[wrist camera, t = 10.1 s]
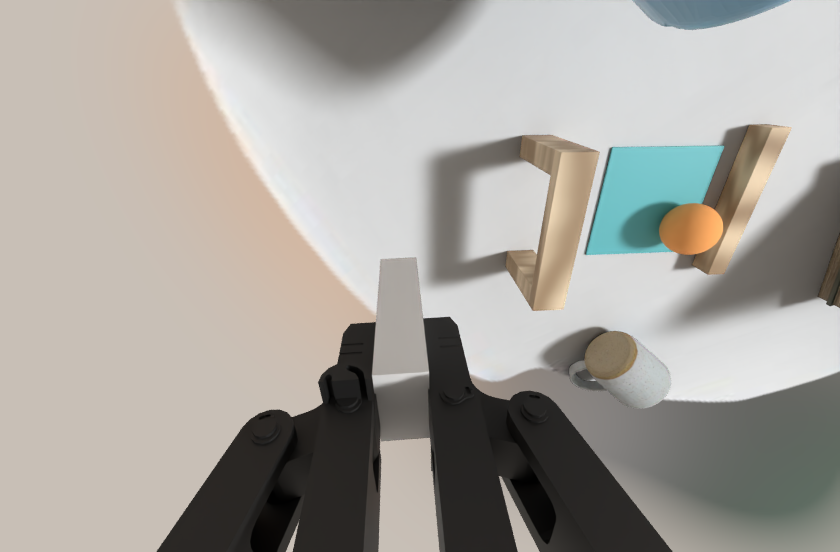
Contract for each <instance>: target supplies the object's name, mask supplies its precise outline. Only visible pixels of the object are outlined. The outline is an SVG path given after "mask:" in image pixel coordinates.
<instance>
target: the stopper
mask: <svg viewBox="0 0 840 552" xmlns="http://www.w3.org/2000/svg"><path fill="white" fill-rule="evenodd" d="M791 128H792V127H785V126H777V125H769V124H761V125H749V127H748V130H747V132H746V135H745V137H744V139H743V142H742V144H741V147H740V149H739V152H738V154H737V156H736V159H735V161H734V164H733V166H732V169H731V171H730V174H729V176H728V178H727V181H726V183H725V186H724V188H723V191H722V193H721V196H720V198H719V200H718V203H717V205H716V208H715V211H716V212H717V213H718V214H719V215H720V217H721V219H722V222H723V232H722V235H721V237H720V239H719V240H718V242H717V243H716V244H715V245H714V246H713V247H712V248H710V249H708V250H707V251H704V252H702V253H698V254H696V257H695V259H694V261H693V264H692V265H693V266H695V267H696V268H698V269H700V270H701V271H703V272H704V273H706V274H708V275H711V274H724V273H725V271H726V268H727V266H728V264H729V262H730V260H731V258H732V255H733V253H734V251H735V249H736V247H737V245H738V243H739V240H740V238H741V236H742V234H743V232H744V230H745V227H746V225H747V223H748V221H749V219H750V217H751V215H752V212H753V210H754V208H755V206H756V204H757V202H758V199H759V197H760V195H761V193H762V191H763V189H764V187H765V184H766V182H767V180H768V178H769V176H770V174H771V171H772V169H773V167H774V165H775V163H776V161H777V159H778V156H779V154H780V152H781V150H782V148H783V146H784V143H785V141H786V139H787V137H788V135H789V133H790V131H791Z"/></svg>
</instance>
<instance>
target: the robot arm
mask: <svg viewBox="0 0 840 552" xmlns="http://www.w3.org/2000/svg"><path fill="white" fill-rule="evenodd" d="M633 1H634V2H635V3H636V5H637V6H638V7H639V8H640V9H641V10H642V11H643V12H644V13H645V14H646V15H647V16H648V17H649V18H650V19H651V20H652V21H654V22H656V23H658V24H660V25H662V26H673V27H676V28H678V29H685V30H696V29H705V28H711V27H716V26H721V25H725V24H729V23H733V22H736V21H739V20H743V19H746V18H749V17H752V16H755V15H757V14H760V13H762V12H765V11H768V10H770V9H772V8H775V7H777V6H780V5H782V4H784V3H786V2H789V1H791V0H633ZM318 383H319V387H320V392H321V396H322V400H323V403H322V404H321V405H320V406H318V407H317V408H315V409H313V410H311V411H309V412H306V413H303V414H300V415H297V416H295V417H291V416H290V415H289V414H288V413H287V412H284V411H282V410H269V411H265V412H262V413H259V414H258V415H256V416H255V417H253V418H251V419H250V420H249V421H248V422H247V423H246V424H245V425H244V426H243V427H242V429H241V430H240V432H239V433H238V435H237V436H236V437H235V439H234V440H233V442H232V443H231V445H230V446H229V448H228V449H227V450H226V452H225V454H224V455H223V456H222V458H221V459H220V461H219V462H218V463H217V465H216V467H215V468H214V469H213V471H212V472H211V474H210V475H209V477H208V478H207V480H206V481H205V482H204V484H203V485H202V487H201V488H200V490H199V491H198V492H197V494H196V495H195V497H194V498H193V500H192V501H191V503H190V504H189V505H188V507H187V508H186V510H185V511H184V513H183V514H182V516H181V517H180V518H179V520H178V521H177V523H176V524H175V526H174V527H173V529H172V530H171V531H170V533H169V535H168V536H167V537H166V539H165V540H164V542H163V543H162V544H161V546H160V548H159V549H158V550H157V552H286V550H287V547H288V545H289V543H290V540H291V538H292V536H293V533H294V531H295V528H296V526H297V524H298V522H299V525H298V529H297V534H296V539H295V544H294V548H293V552H378V545H379V512H380V482H381V481H380V480H381V454H380V438H381V441H391V440H405V439H418V438H430V441H431V471H433V482H434V494H435V505H436V516H437V526H438V537H439V549H440V552H518V551H517V547H516V543H515V539H514V535H513V531H512V527H511V523H510V519H509V515H508V512H507V507H506V503H505V499H504V496H503V491H502V487H501V484H500V479H499V476H501V477H502V478H503V481H504V482H505V485H506V487H507V489H508V491H509V492H510V494H511V496H512V498H513V500H514V502H515V504H516V506H517V508H518V510H519V512H520V514H521V516H522V518H523V520H524V522H525V524H526V526H527V528H528V530H529V531H530V534H531V536H532V537H533V539H534V541H535V543H536V545H537V547H538V549H539V551H540V552H672V550H671V549H670V548H669V547H668V545H667V544H666V543H665V542H664V540H663V539H662V538H661V537H660V535H659V534H658V533H657V531H656V530H655V529H654V528H653V526H652V525H651V524H650V522H649V521H648V520H647V519H646V517H645V516H644V515H643V514H642V513H641V511H640V510H639V509H638V507H637V506H636V505H635V503H634V502H633V501H632V500H631V499H630V497H629V496H628V495H627V493H626V492H625V491H624V490H623V488H622V487H621V486H620V484H619V483H618V482H617V481H616V480H615V478H614V477H613V476H612V474H611V473H610V472H609V470H608V469H607V468H606V467H605V465H604V464H603V463H602V461H601V460H600V459H599V458H598V456H597V455H596V454H595V453H594V451H593V450H592V449H591V448H590V446H589V445H588V444H587V442H586V441H585V440H584V439H583V437H582V436H581V435H580V434H579V432H578V431H577V430H576V429H575V427H574V426H573V425H572V423H571V422H570V421H569V420H568V418H567V417H566V416H565V414H564V413H563V412H562V411H561V409H560V408H559V407H558V406H557V404H556V403H555V402H553V401H552V400H551V399H550V398H549V397H547V396H545V395H543V394H541V393H538V392H533V391H523V392H519V393H518V394H515V395H513V397H512V398H511V399H510V401H509V400H504V399H499V398H495V397H491V396H488V395H486V394H484V393H482V392H481V391H479V390H478V389H477V388H476V387H475V386H474V384H472V381H471V379H470V375H469V371H468V367H467V363H466V359H465V355H464V350H463V346H462V342H461V338H460V334H459V330H458V326H457V324H456V323H455V322H454V321H453V320H452V319H451V318H450V317H440V318H423V313H422V304H421V295H420V286H419V277H418V268H417V259H416V257H414V258H396V259H381V261H380V274H379V288H378V301H377V315H376V322H374V323H357V324H350V326H349V327H348V328H347V329H346V331H345V332H344V333H343V337H342V343H341V348H340V355H339V358H338V363H337V365H335V366H332V367H330V368H328V370H326V371H325V372H324V373H323V374H322V375H321V377H320V379H319V382H318ZM299 519H300V520H299Z"/></svg>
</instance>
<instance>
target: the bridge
mask: <svg viewBox="0 0 840 552" xmlns="http://www.w3.org/2000/svg"><path fill="white" fill-rule="evenodd" d="M599 153H600V152H599V151H596V150H593V149H590V148H587V147H584V146H582V145H579V144H576V143H573V142H570V141H567V140H565V139H562V138H559V137H556V136H553V135H522V141H521V149H520V156H519V157H521V158H523V159H524V160H526V161H528V162H529V163H531V164H533V165H534V166H536V167H538V168H539V169H541V170H543V171H544V172H546V173H548V174H549V175H551V177H550V183H549V188H548V194H547V200H546V206H545V212H544V217H543V223H542V229H541V235H540V241H539V246H538V252H537V255H536V253H535V252H534V251H533V250H524V251H507V258H506V266H505V267H506V268H507V270H508V271H509V273H510V275H511V276H512V278H513V280H514V281H515V283H516V284H517V286H518V288H519V289H520V291H521V292H522V294H523V296H524V297H525V299H526V301H527V302H528V304H529V305H530V307H531V309H532V310H533V311H540V310H562V309H564V305H565V300H566V296H567V292H568V287H569V283H570V279H571V274H572V270H573V266H574V261H575V257H576V253H577V248H578V244H579V240H580V235H581V231H582V227H583V222H584V218H585V213H586V209H587V205H588V200H589V196H590V192H591V187H592V183H593V179H594V174H595V170H596V166H597V161H598V157H599Z"/></svg>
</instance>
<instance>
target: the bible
mask: <svg viewBox="0 0 840 552" xmlns="http://www.w3.org/2000/svg"><path fill="white" fill-rule="evenodd" d="M818 297H820V298H822V299H824V300H825V301H827V303H826V304H827V305H829V306H833V305H835V306H837V307H839V308H840V234H839V237H838V239H837V242H836V245H835V248H834V251H833V254H832V257H831V260H830V262H829V265H828V268H827V271H826V274H825V277H824V280H823V283H822V285H821V288H820V291H819V294H818Z"/></svg>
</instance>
